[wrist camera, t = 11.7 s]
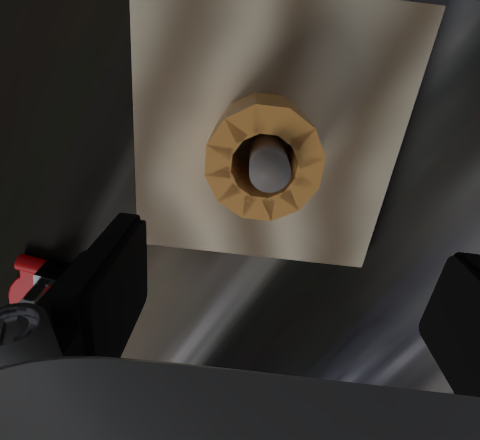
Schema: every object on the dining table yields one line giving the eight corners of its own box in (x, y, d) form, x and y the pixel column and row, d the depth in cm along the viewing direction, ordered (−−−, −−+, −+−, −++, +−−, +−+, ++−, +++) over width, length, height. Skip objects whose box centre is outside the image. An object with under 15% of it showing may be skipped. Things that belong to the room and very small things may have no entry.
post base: (433, 8, 21) (519, -10, 14) (356, 257, 29) (387, 320, 22) (136, -29, 20) (80, -65, 14) (143, 233, 29) (109, 291, 22)
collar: (319, 99, 22) (336, 113, 18) (300, 193, 25) (310, 225, 20) (218, 87, 22) (209, 98, 17) (211, 183, 25) (201, 213, 20)
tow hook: (101, 339, 35) (110, 270, 31) (26, 487, 24) (22, 413, 19) (17, 320, 34) (13, 246, 30) (-102, 463, 23) (-137, 379, 19)
